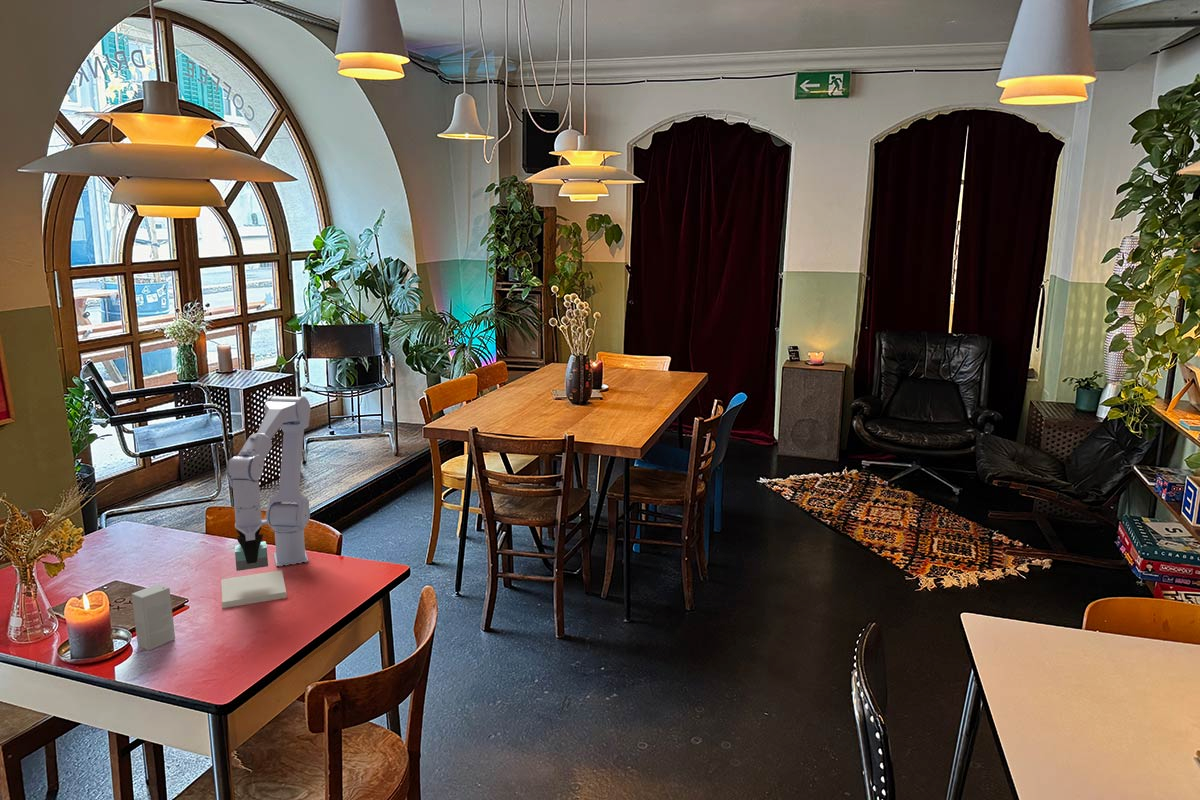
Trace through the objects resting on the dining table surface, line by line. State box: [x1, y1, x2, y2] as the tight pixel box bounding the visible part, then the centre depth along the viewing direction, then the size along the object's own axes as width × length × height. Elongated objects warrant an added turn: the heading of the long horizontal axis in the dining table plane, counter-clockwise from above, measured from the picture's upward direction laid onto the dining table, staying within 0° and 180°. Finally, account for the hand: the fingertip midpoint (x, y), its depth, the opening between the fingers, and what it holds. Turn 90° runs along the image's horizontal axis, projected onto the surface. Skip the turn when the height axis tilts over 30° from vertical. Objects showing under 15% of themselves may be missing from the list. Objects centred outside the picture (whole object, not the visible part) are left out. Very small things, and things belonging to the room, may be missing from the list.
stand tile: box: [220, 569, 288, 609], centre depth 198 cm, size 14×14×2 cm
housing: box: [234, 540, 269, 572], centre depth 196 cm, size 5×7×5 cm, turn 115°
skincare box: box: [131, 583, 176, 652], centre depth 172 cm, size 6×4×12 cm
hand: (251, 558), depth 197 cm, fingers closed on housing, 5 cm apart
